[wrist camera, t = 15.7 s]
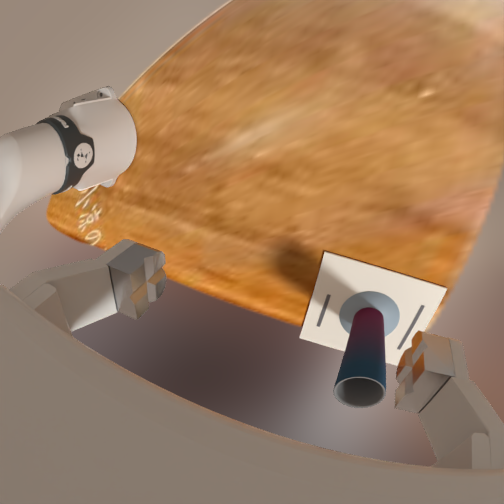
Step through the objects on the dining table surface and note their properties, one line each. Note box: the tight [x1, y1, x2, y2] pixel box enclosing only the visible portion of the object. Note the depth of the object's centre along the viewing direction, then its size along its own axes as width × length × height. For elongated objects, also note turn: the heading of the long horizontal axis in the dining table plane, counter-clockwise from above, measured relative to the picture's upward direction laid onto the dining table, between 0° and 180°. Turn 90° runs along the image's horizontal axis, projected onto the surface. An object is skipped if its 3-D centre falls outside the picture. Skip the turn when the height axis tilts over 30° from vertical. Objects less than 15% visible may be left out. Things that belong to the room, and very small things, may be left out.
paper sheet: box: [300, 251, 447, 366], centre depth 46 cm, size 20×18×1 cm
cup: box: [334, 307, 386, 408], centre depth 40 cm, size 7×7×15 cm
